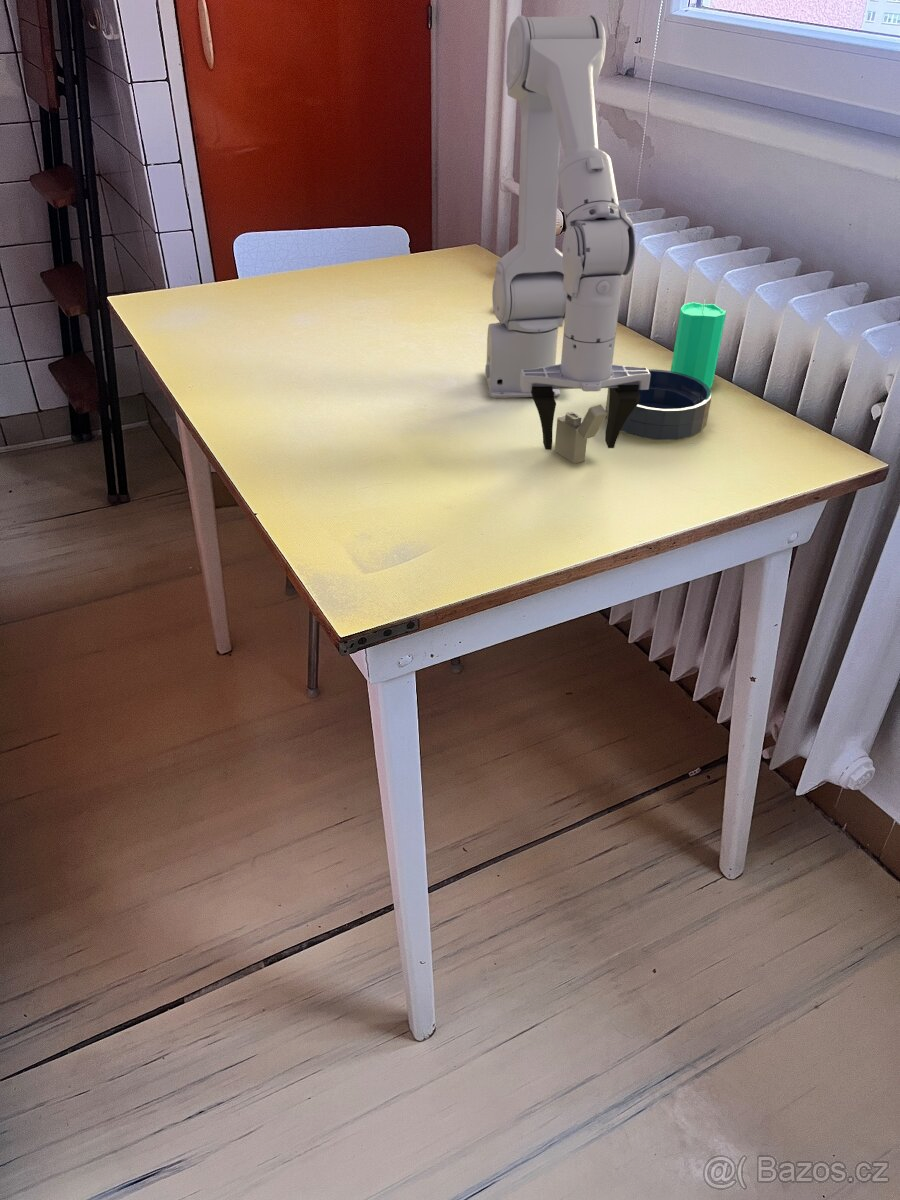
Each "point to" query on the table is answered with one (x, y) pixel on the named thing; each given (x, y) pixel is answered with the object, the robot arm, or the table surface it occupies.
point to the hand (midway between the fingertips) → (578, 445)
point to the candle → (698, 341)
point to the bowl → (669, 407)
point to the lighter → (577, 433)
